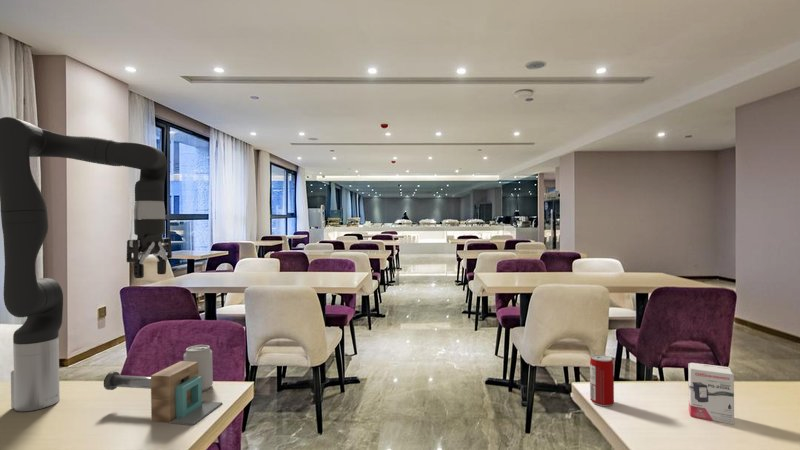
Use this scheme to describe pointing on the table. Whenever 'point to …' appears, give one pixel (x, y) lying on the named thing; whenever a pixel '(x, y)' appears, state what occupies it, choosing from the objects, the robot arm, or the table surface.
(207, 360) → the can
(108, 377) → the shaft
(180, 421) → the mat
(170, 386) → the bearing block
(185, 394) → the spacer
